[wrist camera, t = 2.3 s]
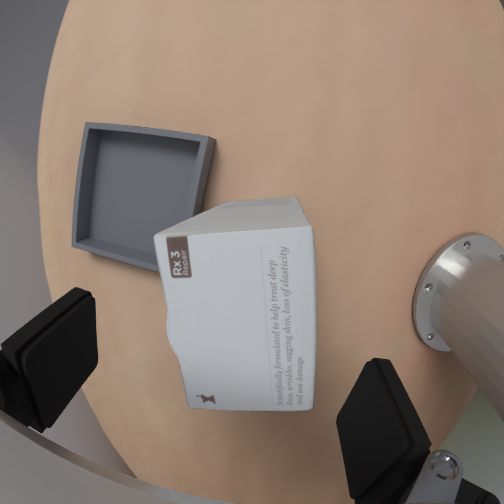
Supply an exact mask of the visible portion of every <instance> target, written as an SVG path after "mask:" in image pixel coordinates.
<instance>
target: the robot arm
mask: <svg viewBox="0 0 504 504" xmlns="http://www.w3.org/2000/svg"><path fill="white" fill-rule="evenodd" d="M413 320H414V324H415V328H416V330H417V332H418V334H419V335H420V337H421V338H422V340H423V341H424V342H425V343H426V344H427V345H428V346H430V347H431V348H433V349H435V350H438V351H445V352H449V351H452V352H453V353H454V355H455V356H456V357H457V358H458V360H459V361H460V362H461V364H462V365H463V366H464V367H465V369H466V370H467V371H468V373H469V374H470V375H471V377H472V378H473V379H474V381H475V382H476V383H477V385H478V386H479V387H480V389H481V390H482V392H483V393H484V395H485V396H486V397H487V399H488V400H489V402H490V403H491V404H492V406H493V407H494V409H495V410H496V412H497V413H498V414H499V416H500V417H501V419H502V420H503V422H504V250H503V248H502V247H501V246H500V245H499V244H498V243H497V241H495V240H493V239H492V238H490V237H488V236H486V235H483V234H478V233H469V234H463V235H461V236H459V237H456V238H454V239H452V240H451V241H449V242H448V243H446V244H445V245H444V246H443V247H442V248H441V249H440V250H439V251H438V252H437V253H436V254H435V255H434V256H433V258H432V259H431V260H430V261H429V263H428V264H427V266H426V268H425V270H424V271H423V273H422V275H421V277H420V280H419V282H418V284H417V287H416V291H415V295H414V301H413ZM1 346H2V350H1V351H0V504H237V503H231V502H225V501H219V500H214V499H209V498H204V497H199V496H195V495H190V494H186V493H182V492H178V491H175V490H171V489H167V488H164V487H160V486H157V485H154V484H151V483H148V482H145V481H142V480H139V479H136V478H133V477H130V476H127V475H125V474H122V473H119V472H117V471H114V470H112V469H109V468H107V467H104V466H102V465H100V464H97V463H95V462H93V461H90V460H88V459H86V458H84V457H82V456H80V455H78V454H76V453H73V452H71V451H69V450H68V449H65V448H64V447H62V446H60V445H58V444H56V443H54V442H52V441H51V440H49V439H47V438H45V437H43V436H42V435H40V434H38V433H36V432H35V431H33V430H31V429H30V428H28V426H30V427H32V428H34V429H35V430H37V431H38V432H40V433H43V431H44V430H45V429H46V428H50V427H52V425H53V424H54V423H55V421H56V420H57V419H58V417H59V416H60V414H61V413H62V412H63V410H64V409H65V408H66V406H67V405H68V404H69V402H70V400H71V399H72V398H73V397H74V395H75V394H76V393H77V391H78V390H79V389H80V387H81V386H82V385H83V384H84V382H85V381H86V380H87V378H88V377H89V376H90V374H91V373H92V372H93V371H94V369H95V368H96V366H97V363H98V349H97V333H96V305H95V298H94V297H92V294H91V292H89V291H86V290H83V289H81V288H78V287H75V288H73V289H72V290H71V291H69V292H68V293H66V294H65V295H64V296H62V297H61V298H60V299H58V300H57V301H55V302H54V303H53V304H51V305H50V306H49V307H47V308H46V309H45V310H43V311H42V312H41V313H39V314H38V315H37V316H36V317H34V318H33V319H32V320H30V321H29V322H28V323H27V324H25V325H24V326H23V327H22V328H20V329H19V330H18V331H16V332H15V333H14V334H13V335H11V336H10V337H9V338H8V339H6V340H5V341H4V342H3V343H2V344H1ZM336 424H337V429H338V434H339V439H340V444H341V449H342V454H343V460H344V465H345V470H346V476H347V482H348V487H349V493H350V497H351V498H352V499H354V500H355V504H500V502H499V500H498V498H497V497H496V496H495V495H493V494H492V493H490V492H488V491H486V490H484V489H482V488H480V487H478V486H476V485H475V484H472V483H471V482H469V481H467V480H465V479H463V478H462V475H463V467H462V463H461V462H460V460H459V459H458V458H457V456H456V455H454V454H452V453H451V452H449V451H447V450H441V449H438V450H434V451H432V452H431V453H430V450H429V447H430V446H431V445H432V444H431V442H430V440H429V437H428V435H427V433H426V431H425V429H424V427H423V425H422V422H421V420H420V418H419V416H418V414H417V412H416V410H415V408H414V406H413V404H412V402H411V400H410V398H409V396H408V394H407V392H406V390H405V388H404V386H403V384H402V382H401V380H400V378H399V376H398V374H397V373H396V371H395V369H394V367H393V365H392V363H391V361H390V360H388V359H381V358H373V359H372V360H371V361H368V362H366V364H365V366H364V368H363V370H362V372H361V373H360V375H359V377H358V379H357V381H356V383H355V385H354V387H353V389H352V390H351V392H350V394H349V396H348V398H347V400H346V401H345V403H344V405H343V407H342V408H341V410H340V412H339V413H338V416H337V420H336Z"/></svg>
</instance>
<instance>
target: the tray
mask: <svg viewBox="0 0 504 504" xmlns="http://www.w3.org/2000/svg"><path fill="white" fill-rule="evenodd" d="M215 142H216V139H214V138H211V137H209V136H204V135H198V134H192V133H185V132H178V131H171V130H164V129H156V128H148V127H139V126H129V125H118V124H106V123H91V122H86V123H85V128H84V133H83V139H82V144H81V150H80V157H79V164H78V171H77V179H76V188H75V198H74V210H73V225H72V247H75V248H78V249H81V250H84V251H88V252H91V253H94V254H98V255H101V256H104V257H108V258H111V259H115V260H118V261H122V262H125V263H129V264H132V265H136V266H139V267H143V268H146V269H150V270H154V271H157V272H159V267H158V262H157V256H156V250H155V245H154V239H153V238H154V236H155V234H157V233H159V232H161V231H163V230H165V229H168V228H170V227H172V226H174V225H176V224H179V223H181V222H183V221H185V220H187V219H189V218H192V217H194V216H196V215H198V214H200V213H201V209H202V204H203V199H204V194H205V189H206V184H207V179H208V174H209V169H210V165H211V160H212V155H213V151H214V146H215Z"/></svg>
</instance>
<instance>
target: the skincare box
mask: <svg viewBox="0 0 504 504" xmlns="http://www.w3.org/2000/svg"><path fill="white" fill-rule="evenodd" d="M153 239H154V245H155V250H156V256H157V262H158V267H159V272H160V277H161V282H162V288H163V293H164V298H165V303H166V308H167V324H166V327H167V335H168V339H169V342H170V345H171V348H172V349H173V351H174V353H175V354H176V356H177V358H178V362H179V366H180V370H181V374H182V378H183V383H184V389H185V395H186V401H187V404H188V406H189V408H192V409H212V410H231V411H302V410H310V409H312V408H313V400H314V388H315V373H316V346H317V298H316V259H315V242H314V232H313V227H312V226H311V225H310V223H309V221H308V219H307V217H306V216H305V214H304V210H303V208H302V206H301V205H300V203H299V201H298V199H297V197H295V196H294V197H277V198H263V199H249V200H237V201H227V202H225V203H223V204H221V205H218V206H216V207H214V208H211V209H209V210H207V211H205V212H202V213H200V214H198V215H196V216H194V217H192V218H189V219H187V220H185V221H183V222H181V223H179V224H176V225H174V226H172V227H170V228H168V229H165V230H163V231H161V232H159V233H157V234H155V236H154V238H153Z"/></svg>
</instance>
